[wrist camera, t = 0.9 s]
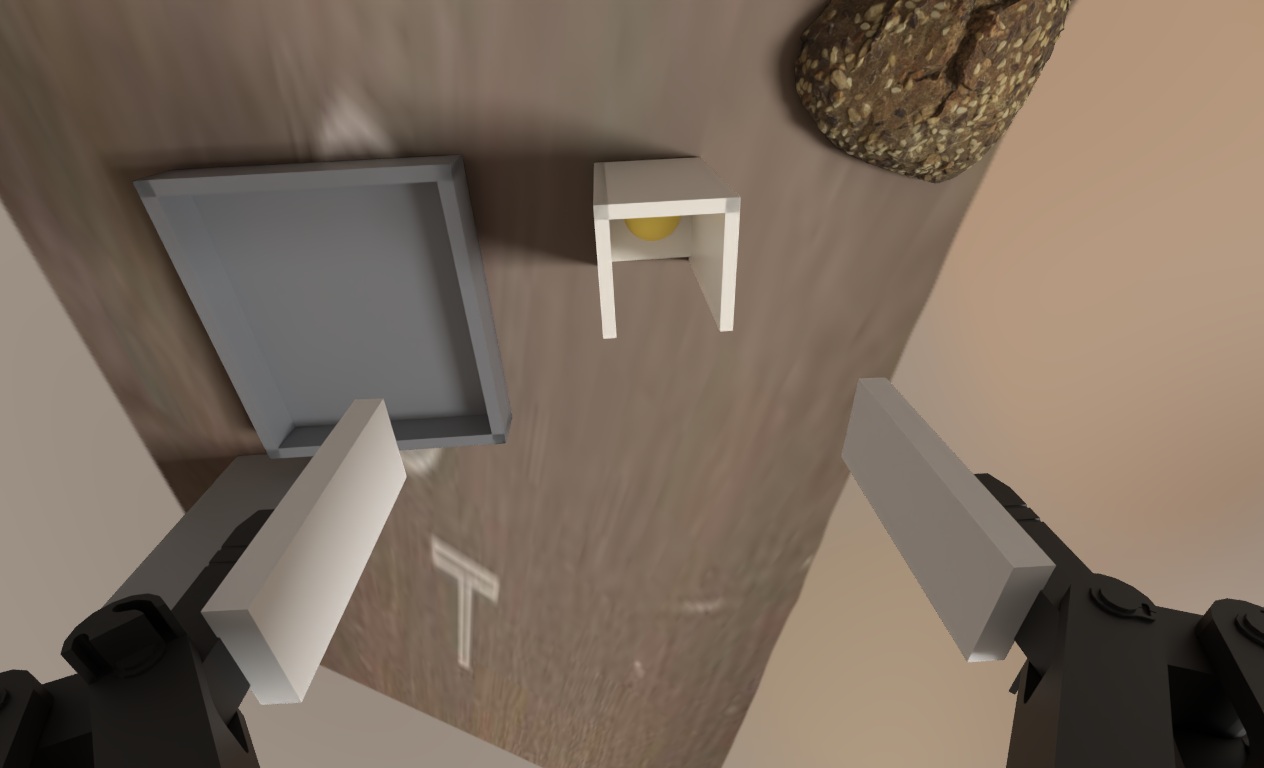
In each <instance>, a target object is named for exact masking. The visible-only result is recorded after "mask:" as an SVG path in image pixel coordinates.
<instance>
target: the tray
mask: <svg viewBox="0 0 1264 768" xmlns="http://www.w3.org/2000/svg"><path fill="white" fill-rule="evenodd" d="M132 182H133V184H134V186H135V188H136V190H137V192H138V194H139V196H140V198H141V200H142V202H143V204H144V206H145V208H146V210H147V212H148V214H149V216H150V218H151V220H152V222H153V224H154V226H155V228H156V230H157V232H158V234H159V236H160V238H161V240H162V242H163V244H164V246H165V248H166V250H167V252H168V254H169V256H170V258H171V260H172V262H173V265H174V267H175V269H176V271H177V273H178V275H179V277H180V279H181V281H182V283H183V285H184V287H185V289H186V291H187V293H188V295H189V297H190V299H191V301H192V303H193V305H194V307H195V309H196V311H197V313H198V315H199V317H200V319H201V321H202V323H203V325H204V327H205V329H206V331H207V333H208V335H209V337H210V339H211V341H212V343H213V345H214V347H215V349H216V351H217V353H218V355H219V357H220V359H221V361H222V363H223V365H224V367H225V369H226V371H227V373H228V375H229V377H230V379H231V381H232V384H233V386H234V388H235V390H236V392H237V394H238V396H239V398H240V400H241V402H242V404H243V406H244V408H245V410H246V412H247V414H248V416H249V418H250V420H251V422H252V424H253V426H254V428H255V430H256V432H257V434H258V436H259V438H260V440H261V442H262V444H263V446H264V448H265V450H266V452H267V454H268V456H269V458H270V459H278V458H293V457H308V456H314V455H315V454H316V452H317V451H318V449H319V448H320V447H321V445H322V444H323V443H324V441H325V440H326V438H327V437H328V436H329V434H330V433H331V432H332V430H333V429H334V427H335V426H336V425H337V423H338V422H339V421H340V419H341V418H342V416H343V415H344V414H345V412H346V411H347V410H348V408H349V407H350V405H351V404H352V403H353V401H354V400H356V399H380V398H383V399H384V402H385V405H386V409H387V412H388V416H389V419H390V422H391V426H392V429H393V433H394V436H395V439H396V443H397V446H398V449H399V450H412V449H427V448H442V447H457V446H472V445H487V444H502V443H506V442H507V437H508V433H509V429H510V424H511V420H512V415H511V409H510V404H509V399H508V394H507V388H506V383H505V378H504V373H503V367H502V362H501V357H500V352H499V346H498V341H497V336H496V331H495V325H494V320H493V315H492V310H491V304H490V299H489V294H488V289H487V283H486V278H485V273H484V268H483V262H482V257H481V252H480V247H479V241H478V236H477V231H476V226H475V220H474V215H473V210H472V205H471V199H470V194H469V189H468V183H467V178H466V173H465V168H464V162H463V157H462V155H444V156H425V157H406V158H388V159H369V160H350V161H331V162H313V163H294V164H275V165H256V166H238V167H219V168H200V169H181V170H171V171H167V172H163V173H160V174H156V175H152V176H149V177H145V178H141V179H138V180H134V181H132Z"/></svg>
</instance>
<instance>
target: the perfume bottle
mask: <svg viewBox="0 0 1264 768" xmlns="http://www.w3.org/2000/svg"><path fill="white" fill-rule="evenodd" d="M312 458H313V456H308V457H293V458H278V459H270V458H269V456H268V454H261V455H243V456H237V457H236V458H235V459H234V460H233V461H232V463H231V464H230V465H229V466H228V467H227V468H226V469H225V470H224V472H223V473H222V474H221V475H220V476H219V477H218V478H217V479H216V480H215V482H214V483H213V484H212V485H211V486H210V487H209V488H208V489H207V491H206V492H205V493H204V494H203V495H202V496H201V497H200V498H199V500H198V501H197V502H196V503H195V504H194V505H193V506H192V507H191V508H190V510H189V511H188V512H187V513H186V514H185V515H184V516H183V517H182V519H181V520H180V521H179V522H178V523H177V524H176V525H175V526H174V528H173V529H172V530H171V531H170V532H169V533H168V534H167V535H166V536H165V538H164V539H163V540H162V541H161V542H160V543H159V545H157V547H156V548H155V549H154V550H153V551H152V552H151V553H150V554H149V555H148V557H147V558H146V559H145V560H144V561H143V562H142V563H141V564H140V566H139V567H138V568H137V569H136V570H135V571H134V572H133V574H132V575H131V576H130V577H129V578H128V579H127V580H126V581H125V583H124V584H123V585H122V586H121V587H120V588H119V589H118V590H117V591H116V592H115V594H114V595H113V596H112V597H111V598H110V599H109V600H108V602H107V603H106V604H105V605H104V606H103V607H105V606H107V605H108V604H110V603H112V602H115V601H117V600H120V599H123V598H126V597H129V596H131V595H139V594H146V593H149V594H154V595H158V596H160V597H161V598H162V599H163V601H164V602H165V603H166V605H167V606H168V607H169V609H170V610H172V609H173V607H174V606H175V605H176V604H177V602H178V601H179V600H180V598H181V597H182V596H183V595H184V593H185V592H186V591H187V589H188V588H189V587H190V586H191V584H192V583H193V582H194V580H195V579H196V578H197V577H198V575H199V574H200V573H201V572H202V570H203V569H204V568H205V566H208V565H209V561H210V560H211V559H212V557H213V556H214V555H215V554H216V552H217V551H218V550H221V546H222V545H223V543H224V542H225V541H226V540H227V538H228V537H229V536H230V534H231V533H232V532H233V531H234V529H235V528H236V527H237V526H238V525H240V524H241V523H242V522H244V521H245V520H246V519H247V518H249V517H250V516H251V515H253V514H254V513H255V512H257V511H258V510H266V509H276V507H277V506H278V505H279V503H280V502H281V500H282V499H283V498H284V496H285V495H286V494H287V492H288V491H289V489H290V488H291V487H292V485H293V484H294V483H295V481H296V480H297V478H298V477H299V476H300V474H301V473H302V471H303V470H304V469H305V467H306V466H307V465H308V463H309V462H310V460H311V459H312ZM103 607H102V608H103ZM75 672H76V671H75ZM76 673H77V672H76ZM77 674H78V673H77ZM249 688H250V687H249Z"/></svg>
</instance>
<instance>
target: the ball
mask: <svg viewBox="0 0 1264 768" xmlns="http://www.w3.org/2000/svg"><path fill="white" fill-rule="evenodd" d="M680 218H681V216H664V217H646V218H629V219H624V221H625V224H626V226H627V227H628V229H629V230H630V231H631V232H632V233H633V234H634V235H635V236H637V237H638V238H640V239H643V240H646V241H657V240H661V239H663V238H665V237H667V236H669V235H670V234H671V233H672V232H673V231H674V230H675V229H676V227H677V226H678V224H679V221H680Z"/></svg>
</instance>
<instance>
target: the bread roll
mask: <svg viewBox="0 0 1264 768" xmlns="http://www.w3.org/2000/svg"><path fill="white" fill-rule="evenodd" d="M1070 1H1073V0H832V1H831V2H830V3H829V5H828V6H827V7H826V9H825V10H824V11H823V13H822V14H821V15H820V16H819V17H818V18H817V19H816V20H815V21H814V22H813V23H812V24H810V25H809V27H808V28H807V29H806V30H805V32H804V33H803V34H802V36H801V39H802V41H803V42H802V47H801V54H800V55H799V57H798V58H797V60H796V62H795V76H796V90H797V93H798V94H799V96H800V99H801V103H802V104H803V105H804V106H805V108H806V109H807V110H808V112H809V113H810V115H811V116H812V118H813V119H814V121H815V122H816V124H817V125H818V128H819V129H820V130H821V131H822V132H823V133H825V135H826V137H827V138H828V139H830V140H831V141H832V143H833V144H834V145H835V146H836V147H837V148H840V149H843V150H845V151H846V153H848V154H850V155H854V156H855V157H857V158H859V159H862V160H864V161H865V162H866V163H870V164H874V165H877V166H879V167H882V168H886V169H888V170H890V171H893V172H897V173H899V174H902V175H903V174H905V175H906V176H908V177H913V176H916V177H917V178H918V179H922V180H924V181H928V182H932V183H940V182H943V181H946V180H950V179H952V178H954V177H956V176H958V175H959V174H961V173H962V172H963V171H965V170H967V169H969V168H970V167H972V166H973V165H974V164H975V163H976V162H977V161H980V160H981V158H982V157H983V156H984V155H985V154H986V152H987V151H988V150H989V149H990V148H991V147H992V146H993V145H994V144H995V143H996V142H997V141H998V140H999V139H1000V138H1002V137H1003V135H1004V134H1005V132H1006V131H1007V129H1008V128H1009V126H1010V124H1011V123H1012V121H1013V119H1014V117H1015V115H1016V114H1017V112H1018V110H1019V109H1020V108H1022V107H1023V105H1024V104H1025V102H1026V100H1027V98H1028V96H1029V94H1030V93H1031V92H1032V91H1033V89H1034V87H1035V83H1036V81H1037V79H1038V78H1039V76H1040V73H1041V71H1042V69H1043V67H1044V65H1045V63H1046V62H1047V61H1048V60H1049V59H1050V56H1051V54H1052V51H1053V49H1054V45H1055V43H1056V41H1057V40H1058V39H1059V38H1060V32H1061V31H1062V30H1064V22H1065V18H1066V15H1067V12H1068V10H1069V7H1070Z"/></svg>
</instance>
